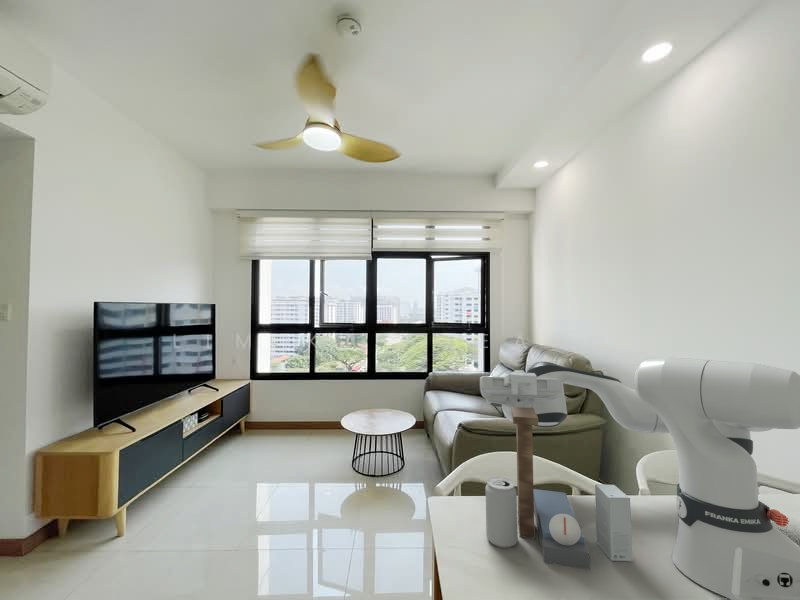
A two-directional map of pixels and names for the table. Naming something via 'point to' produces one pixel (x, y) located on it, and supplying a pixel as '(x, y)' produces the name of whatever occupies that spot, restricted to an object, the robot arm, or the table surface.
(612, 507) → the skincare box
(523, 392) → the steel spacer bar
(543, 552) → the platform scale
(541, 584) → the table surface
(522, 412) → the walnut post stand
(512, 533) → the beverage can
